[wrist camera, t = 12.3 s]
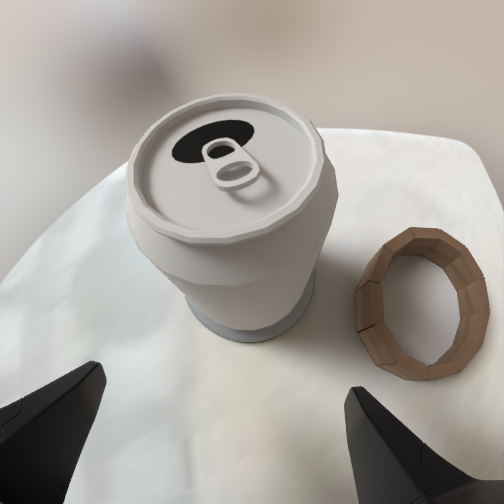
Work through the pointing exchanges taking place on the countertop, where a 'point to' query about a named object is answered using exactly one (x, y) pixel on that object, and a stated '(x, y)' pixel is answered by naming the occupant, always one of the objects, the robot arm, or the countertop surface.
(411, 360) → the collar
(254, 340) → the mat
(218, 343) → the countertop surface
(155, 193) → the can
